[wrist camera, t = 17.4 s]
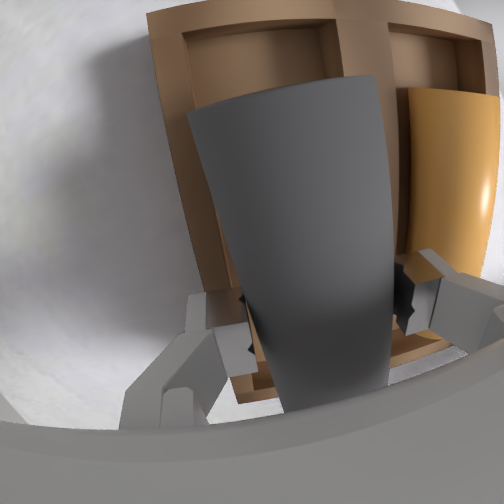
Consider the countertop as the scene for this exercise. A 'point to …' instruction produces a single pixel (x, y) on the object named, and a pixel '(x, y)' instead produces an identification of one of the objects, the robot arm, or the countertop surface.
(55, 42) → the countertop surface
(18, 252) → the countertop surface
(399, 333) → the slot rack
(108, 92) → the countertop surface
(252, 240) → the charcoal rod
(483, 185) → the orange rod
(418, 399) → the robot arm
